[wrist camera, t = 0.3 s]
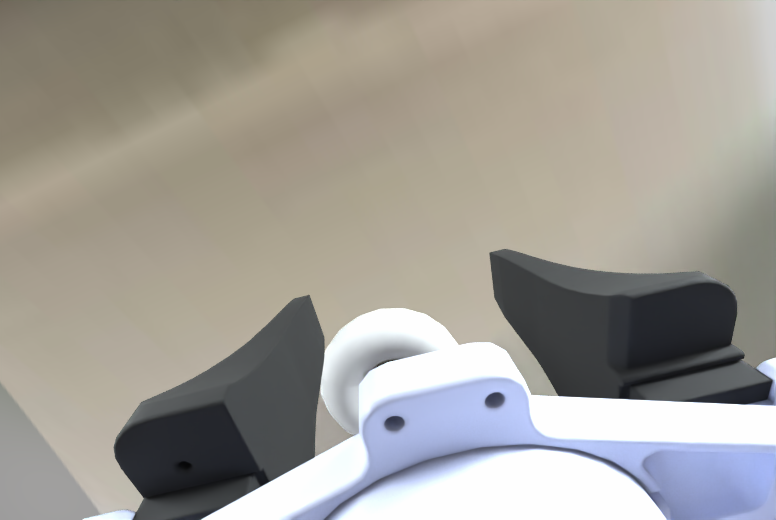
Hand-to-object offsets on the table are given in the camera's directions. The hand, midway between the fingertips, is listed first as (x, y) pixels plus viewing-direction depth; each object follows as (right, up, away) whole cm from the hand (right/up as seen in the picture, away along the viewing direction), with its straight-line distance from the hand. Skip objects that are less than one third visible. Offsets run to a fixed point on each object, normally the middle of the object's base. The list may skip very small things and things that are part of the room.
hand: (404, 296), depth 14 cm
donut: (0, -6, +13) cm, 14 cm away
